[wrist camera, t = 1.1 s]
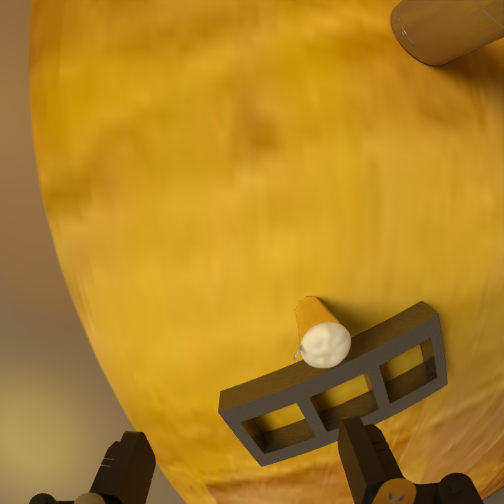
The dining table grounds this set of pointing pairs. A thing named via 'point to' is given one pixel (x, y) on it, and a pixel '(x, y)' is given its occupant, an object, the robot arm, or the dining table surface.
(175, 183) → the dining table surface
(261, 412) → the three-window grey frame
